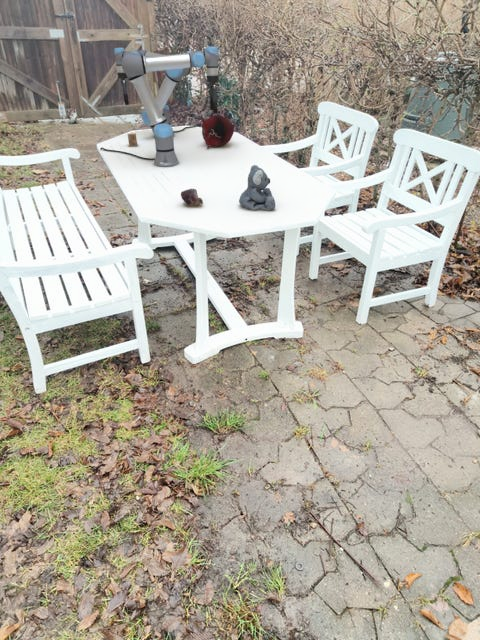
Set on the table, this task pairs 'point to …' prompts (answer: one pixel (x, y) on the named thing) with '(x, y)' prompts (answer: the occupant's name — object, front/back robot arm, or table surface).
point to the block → (132, 140)
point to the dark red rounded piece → (217, 130)
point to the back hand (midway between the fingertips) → (126, 103)
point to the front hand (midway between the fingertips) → (213, 111)
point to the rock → (191, 197)
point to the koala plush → (257, 191)
